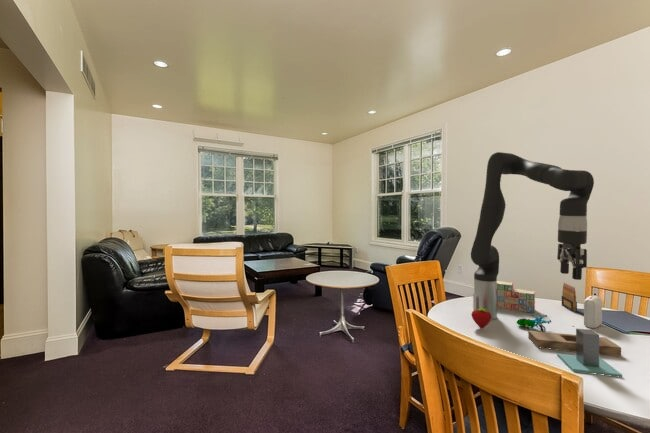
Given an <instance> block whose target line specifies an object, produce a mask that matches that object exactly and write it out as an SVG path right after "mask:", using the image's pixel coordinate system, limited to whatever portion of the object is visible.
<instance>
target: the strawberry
mask: <svg viewBox="0 0 650 433" xmlns="http://www.w3.org/2000/svg"><path fill="white" fill-rule="evenodd" d="M481 305H482V304H481ZM482 307H483V306H482ZM482 307H481V308H480V309H478V308H475V310H474V311H471V317H472V320H473V321H474V323H475V324H476V325H477V326H478V327H479V328H480V329H481V328H483V329H484V328H486V327H487V326H488V324H490V322H491V320H492V319H491V314H490V313H489V312H488V311H489V310H486V309H483V308H482Z"/></svg>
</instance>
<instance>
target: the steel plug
mask: <svg viewBox="0 0 650 433" xmlns="http://www.w3.org/2000/svg"><path fill="white" fill-rule="evenodd" d="M575 335H576V352H575V355H576V360H578V361H579V362H580V363H581V364H582V365H583V366H591V367H599V358H600V354H599V337H600V334H598V332H595V331H594V330H592V329H588V328H587V329H584V328H576V329H575Z"/></svg>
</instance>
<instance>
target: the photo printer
mask: <svg viewBox="0 0 650 433" xmlns="http://www.w3.org/2000/svg"><path fill="white" fill-rule="evenodd" d="M602 324H603V301H602V298H600V297H599V296H597V295H590V296H588V297H586V298H585V299H584V302H583V325H584V326H585V327H586V328H589V329H596V328H598V327H599V326H601V325H602Z"/></svg>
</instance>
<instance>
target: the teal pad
mask: <svg viewBox="0 0 650 433" xmlns="http://www.w3.org/2000/svg"><path fill="white" fill-rule="evenodd" d="M556 356H557V358H558V359H560V360H561V362H562V363H564V365H566V366H567V367H568V369H570V370H571V371H572V372H573V371H576V372H575V373H582V374H583V373H584V374H589V373H596V374H595V375H598V374H604V375H603V376H606V375H611V376H610V377H614V376H619V377H618V378H623V374H622V373H621V372H620V371H618V370H617V369H616V368H614V366H612V365H610V364H609V363H608V362H607V361H605V360H604V359H603V358H602V357H601V358H600V357H599V367H591V366H583V365H582V364H581V363H580V362H579V361H578V360H576V354H575V355H574V354H564V353H556Z"/></svg>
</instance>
